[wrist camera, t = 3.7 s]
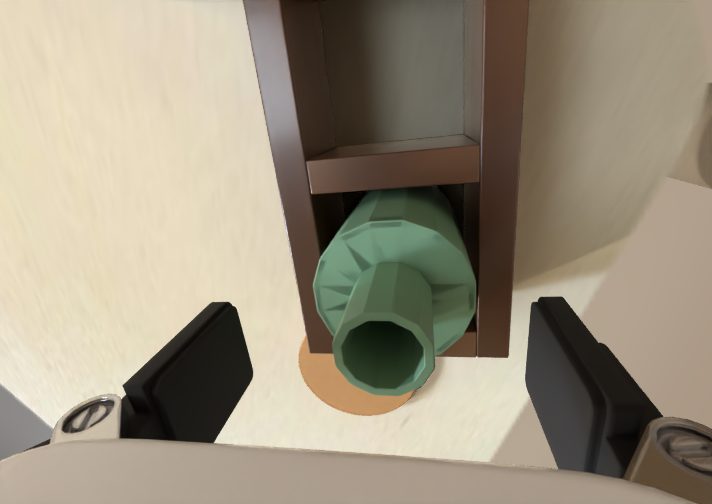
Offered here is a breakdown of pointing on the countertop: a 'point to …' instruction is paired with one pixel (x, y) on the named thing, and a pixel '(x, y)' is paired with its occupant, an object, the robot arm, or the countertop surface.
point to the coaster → (342, 386)
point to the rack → (398, 154)
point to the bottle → (395, 288)
